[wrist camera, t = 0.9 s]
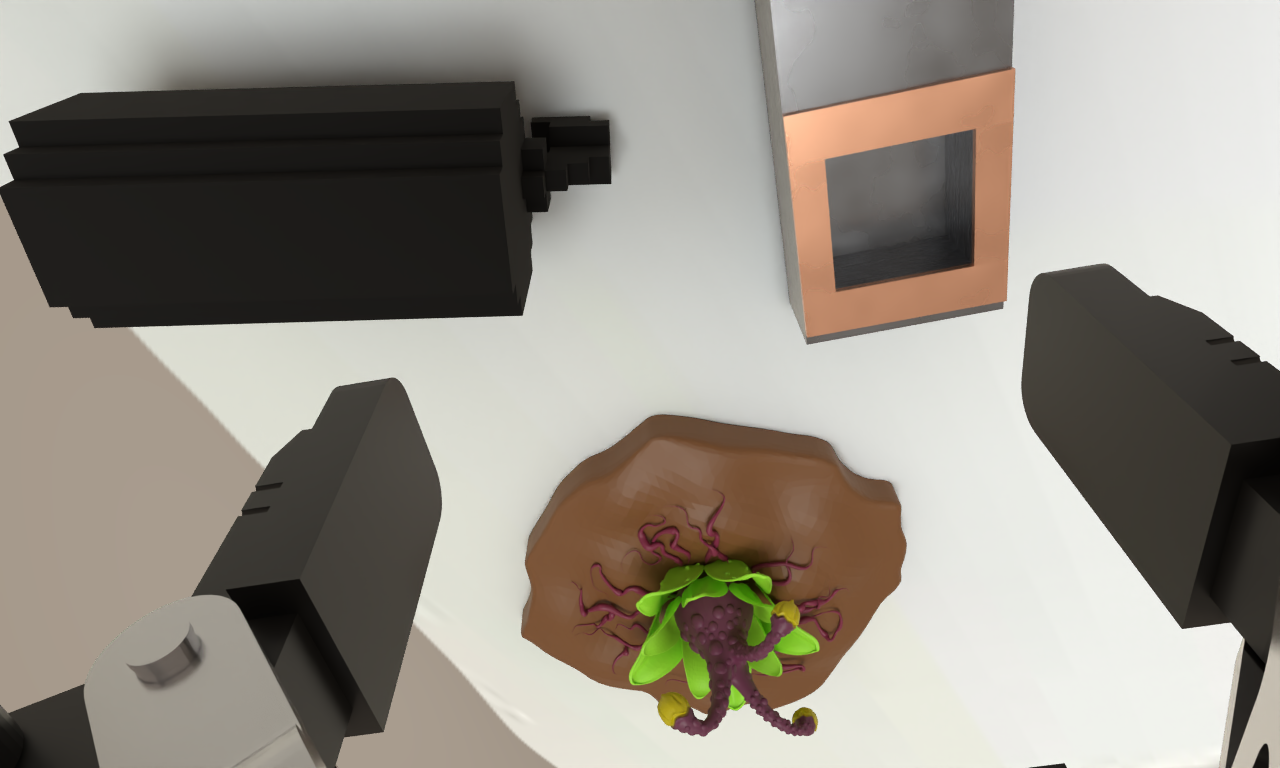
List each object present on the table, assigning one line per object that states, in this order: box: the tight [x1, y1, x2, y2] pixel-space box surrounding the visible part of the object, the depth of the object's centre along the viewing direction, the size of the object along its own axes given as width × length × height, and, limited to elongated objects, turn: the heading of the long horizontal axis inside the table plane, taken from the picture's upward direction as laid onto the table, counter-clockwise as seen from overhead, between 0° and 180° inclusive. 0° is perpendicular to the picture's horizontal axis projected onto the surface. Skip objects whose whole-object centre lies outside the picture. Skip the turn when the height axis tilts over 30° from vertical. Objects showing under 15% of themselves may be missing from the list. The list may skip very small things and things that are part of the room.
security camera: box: [0, 81, 611, 328], centre depth 29 cm, size 7×18×10 cm, turn 91°
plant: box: [521, 415, 907, 737], centre depth 41 cm, size 20×20×11 cm
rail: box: [755, 0, 1015, 345], centre depth 29 cm, size 24×8×4 cm, turn 11°
